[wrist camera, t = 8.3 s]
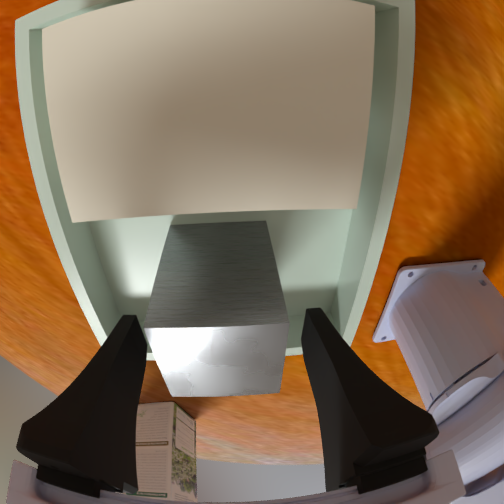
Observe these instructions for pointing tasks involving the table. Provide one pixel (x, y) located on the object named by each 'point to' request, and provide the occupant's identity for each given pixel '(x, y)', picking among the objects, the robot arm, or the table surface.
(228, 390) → the tin
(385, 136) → the pale green tray
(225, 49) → the off-white block
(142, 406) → the syrup box
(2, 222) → the table surface
